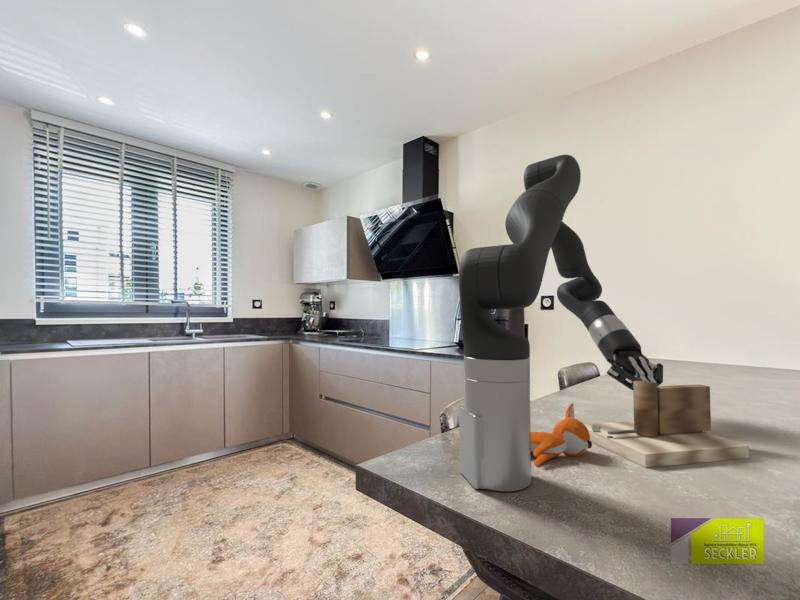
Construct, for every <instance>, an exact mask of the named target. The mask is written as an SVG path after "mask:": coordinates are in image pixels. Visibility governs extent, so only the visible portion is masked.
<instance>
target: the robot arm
mask: <svg viewBox="0 0 800 600" xmlns="http://www.w3.org/2000/svg"><path fill="white" fill-rule="evenodd" d="M581 176H582V175H581V169H580V164H579V162H578V161H577V159H576V158H575V157H574V156H572V155H570V154H561V155H560V154H559V155H556V156H553V157H550V158H547V159H542V160H539V161H537V162H533V163H531V164H529V165H527V166H526V167H525V168H524V172H523V185H524V189H525V190H524V191H523V192H522V193H521V194H520V195H519V196H518V197H517V198H516V200H515V201H514V202H513V204H512V205H511V207H510V209H509V210H508V213H507V214H506V217H505V222H504V224H505V232H506V234H507V237H508V238H509V241H511V243H509V244H500V245H491V246H489V245H488V246H482V247H474V248H473V247H472V248H469V249H468V250H466V251H465V252H464V253H463V256H462V258H461V260H460V263H459V269H458V291H459V303H460V304H459V306H460V307H459V308H460V330H461V339H462V343H463V376H464V377H463V395H464V396H463V406H462V405H461V406H460V407H459V409H458V412H459V413H458V414H459V417H458V418H459V419H458V420H459V423H458V424H459V425H458V427H459V428H458V429H459V431H458V434H459V441H458V443H459V449H458V450H459V454H458V455H459V457H458V458H459V472H460V474H461V475H462V476H463V477H464V478H465V479H466V480H467V481H468V482H469V484H470V485H471V486H472V487H473V488H474V489H475V490H479V489H482V490H484V489H485V490H489V491H490V490H491V491H497V492H514V491H515V492H516V491H521V490H524V489H525V488H528V487H529V486H530V485H531V483H532V458H531V457H532V452H531V432H532V431H531V424H532V423H531V351H530V350H531V347H530V345H531V344H530V341H529V339H528V338H527V337H526V336H524V335H523V334H519V333H517V332H514V331H512V330H509V329H507V328H505V327H504V326H502V325H501V324H499V323H498V322H497V321H496V320H495V319H494V316H493V311H492V310H520V309H521V310H522V309H524V308H529V307H531V305H533V303H535V301H536V299H537V298H538V295H539V293H540V290H541V287H542V286H541V285H542V282H543V278H544V276H545V270H546V265H547V261H548V257H549V253H550V251H551V252H552V254H553V259H554V262H555V265H556V269H557V272H558V274H559V275H560V277H562V278H564V279H569V281H568V280H567V281H565V282H563V283H561V284H559V286H558V287H557V288H556V289H557V290H556V296H557V299H558V302H560V304H561V305H562V306H563V307H564V308H565V309H567V310H568V311H569V312H571V313H572V314H573V315H575V316H576V317H577V318H578V319H579V320H580V321H581V322H582V324H583V325H584V327H585V329H586V330H587V332H588V333H589V334H590V337H591V339H592V341H593V342H594V344H595V346H596V347H597V348H598V350H599V351H600V353H601V354H602V356H603V357H604V360H605V361H606V362H607V363H608V364H610V365H611V366H610V368H608V370H607V371H606V374H607V375H608V376H609V377H612V378H613V379H614V380H616V381H617V382H619V383H620V384H621V385H623V386H624V387H626V388H627V389H629V390H631V391H633V381H650V382H655V383H657V386H661V384H662V383H663V382H664V365H663V364H662V363H660V362H658V363H656V364H654V363H653V362H651V361H650V360H649V358H648V357H647V356H646V355H644V354H643V352H642V346H641V344H640V343H639V342H638V340H637V339H636V337H635V336H634V335H633V333H632V332H631V331H630V330H629V328H628V327H627V326H626V324H625V323H624V322H623V321H622V320H621V319H620V318H618V317H617V315H616V313H614V311H613V310H612V308H611V307H610V306H609V305H608V303H606V302H605V301H603V300H600V297H601V296H602V293H603V286H602V285H601V283H600V281H599V280H598V278H597V277H596V275H595V274H594V273H593V271H592V269H591V267H590V265H589V263H588V259H587V255H586V251H585V247H584V244H583V241H582V239H581V238H580V236H579V235H578V234H577V232H575V230H573V229H572V228H571V227H570V226H568V225H567V224H566V223H565V222H563V220H564V216H565V213H566V211H567V208H568V206H569V205H570V203H571V202H572V201H573V199H574V198H575V196H576V195H577V193H578V191H579V188H580V186H581V178H582V177H581ZM598 299H599V300H598Z"/></svg>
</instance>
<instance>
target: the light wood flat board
mask: <svg viewBox="0 0 800 600" xmlns="http://www.w3.org/2000/svg"><path fill="white" fill-rule="evenodd" d="M583 424H584V425H585V426H586V427H587V429H588V431H589V434H590V441H591V443H592V444H595V445H597V446H599V447H602V448H603V449H605V450H607V451H610V452H612V453H614V454H616V455H618V456H620V457H622V458H624V459H627V460H629V461H631V462H633V463H635V464H636V465H639V466H641V467H643V468H655V467H665V466H667V467H668V466H677V465H688V464H698V463H710V462H720V461H721V462H722V461H731V460H743V459H749V458H750V446H749V445H747V444H744V443H741V442H738V441H735V440H732V439H728V438H725V437H722V436H718V435H715V434H711V433H710V432H707V431H700V432H686V433H672V434H658V436H654V437H652V436H643V435H639V434H636V433H627V434H613V435H610V434H608V431H620V430H634V420H631V421H619V422H618V421H617V422H616V421H615V422H614V421H613V422H601V423H600V422H598V423H583Z"/></svg>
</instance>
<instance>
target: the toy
mask: <svg viewBox="0 0 800 600" xmlns="http://www.w3.org/2000/svg"><path fill="white" fill-rule="evenodd" d="M574 408H575V406H574V402H572V403H571V404H569V405H568V407H567V408H566V410H565V417H564V419H562V420H561V421H559V422H558V423H557V424H556V425H555V426H554V427H553V430H552V433H550V432H546V431H531V454H532V455H533V456H534V458H536V459H534V463H533V464H534V466H535V467H537V468H539V467H540V466H541V465H542V464H544V463H545V462H547V461H548V460H549V461H550V460H551V459H552V458H555V457H558V456H560V455H562V454H564V455H565V456H567V457H579V456H581V455H582V454H583V453H585V452H586V450H588V449H591V448H592V446H593V443H592V442H591V441H590V434H589V431H588V429H587V427H586V426H585V425H584V424H585V423H583V422H582V421H581V420H579V419H577V418H575V409H574Z"/></svg>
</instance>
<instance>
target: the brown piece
mask: <svg viewBox="0 0 800 600" xmlns="http://www.w3.org/2000/svg"><path fill="white" fill-rule="evenodd" d="M632 391H633V392H632V394H633V396H632V397H633V421H634V430H620V431H608V434H610V435H613V434H627V433H636V434H639V435H643V436H652V437H654V436H658V434H672V433H686V432H700V431H703V432H711V431H712V417H711V415H712V413H711V386H709V385H703V384H682V385H680V384H679V385H659V386H657V383H655V382H650V381H633V390H632Z"/></svg>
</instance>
